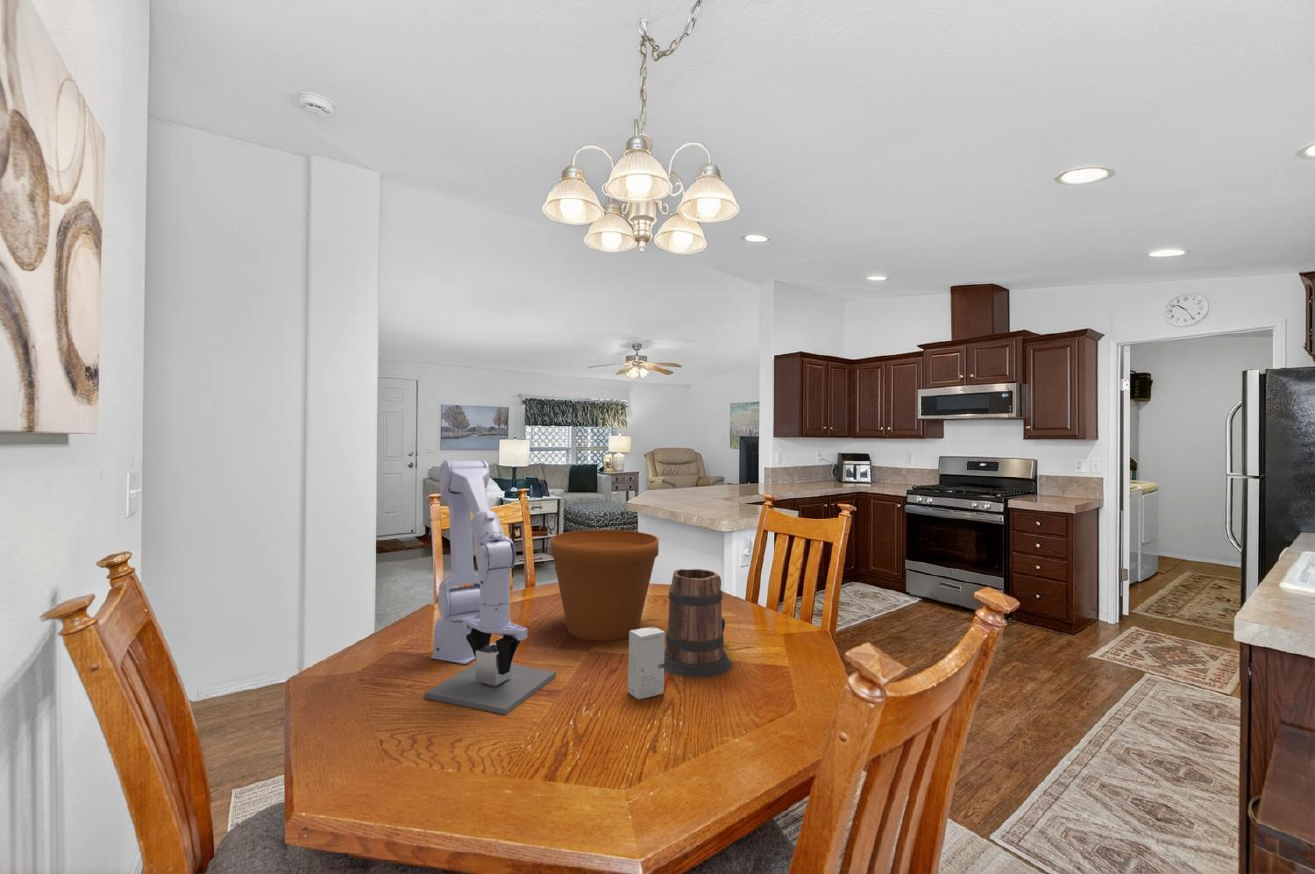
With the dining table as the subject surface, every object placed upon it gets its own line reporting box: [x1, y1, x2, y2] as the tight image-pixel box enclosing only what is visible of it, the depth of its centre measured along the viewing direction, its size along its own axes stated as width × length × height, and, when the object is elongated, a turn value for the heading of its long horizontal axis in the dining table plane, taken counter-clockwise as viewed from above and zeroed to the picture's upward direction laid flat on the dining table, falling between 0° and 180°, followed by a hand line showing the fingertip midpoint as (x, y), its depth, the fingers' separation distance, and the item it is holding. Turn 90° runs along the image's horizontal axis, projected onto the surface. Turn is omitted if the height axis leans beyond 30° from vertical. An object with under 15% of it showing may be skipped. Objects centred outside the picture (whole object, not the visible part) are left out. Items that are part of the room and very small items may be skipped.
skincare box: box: [627, 626, 666, 700], centre depth 115 cm, size 6×4×12 cm
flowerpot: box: [549, 529, 660, 641], centre depth 154 cm, size 28×28×24 cm
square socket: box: [475, 642, 513, 686], centre depth 117 cm, size 5×5×6 cm
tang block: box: [423, 663, 557, 716], centre depth 117 cm, size 18×18×4 cm
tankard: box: [664, 568, 733, 679], centre depth 134 cm, size 24×17×20 cm
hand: (493, 670), depth 117 cm, fingers closed on square socket, 5 cm apart
